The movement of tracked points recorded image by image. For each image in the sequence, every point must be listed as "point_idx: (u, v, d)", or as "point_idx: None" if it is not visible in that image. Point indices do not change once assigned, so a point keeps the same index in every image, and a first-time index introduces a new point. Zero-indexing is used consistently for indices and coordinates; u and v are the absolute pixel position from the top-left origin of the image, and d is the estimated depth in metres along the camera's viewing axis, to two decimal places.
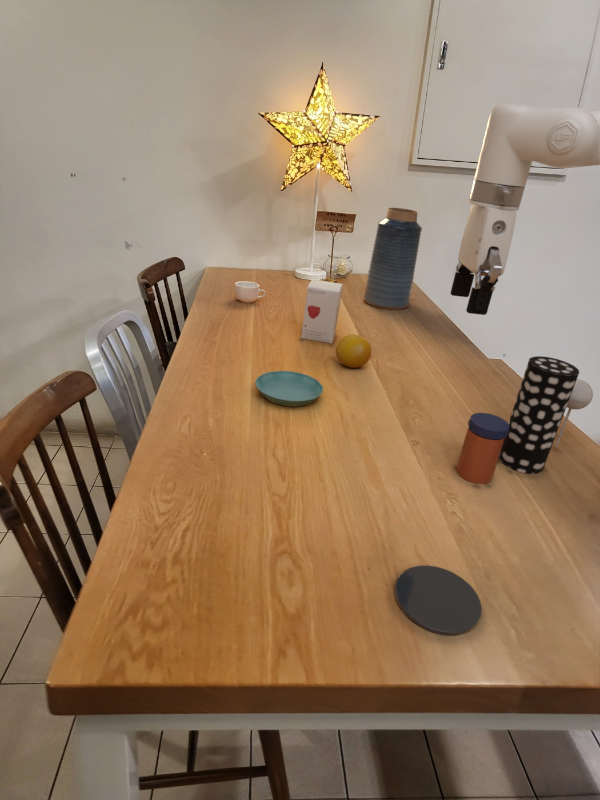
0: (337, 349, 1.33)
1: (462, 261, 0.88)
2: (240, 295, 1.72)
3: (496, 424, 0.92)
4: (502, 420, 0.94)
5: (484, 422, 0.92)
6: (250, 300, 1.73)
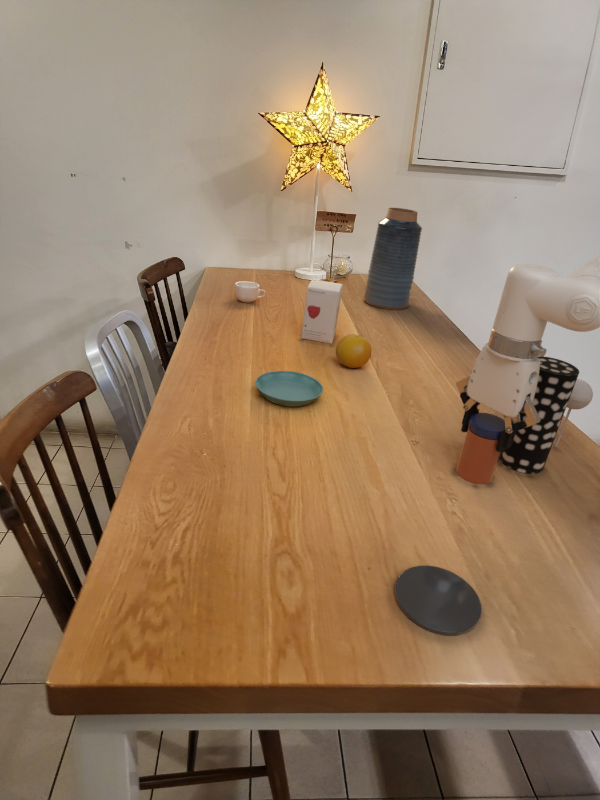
0: (337, 349, 1.33)
1: (480, 401, 0.91)
2: (240, 295, 1.72)
3: (496, 424, 0.92)
4: (502, 420, 0.94)
5: (484, 422, 0.92)
6: (250, 300, 1.73)
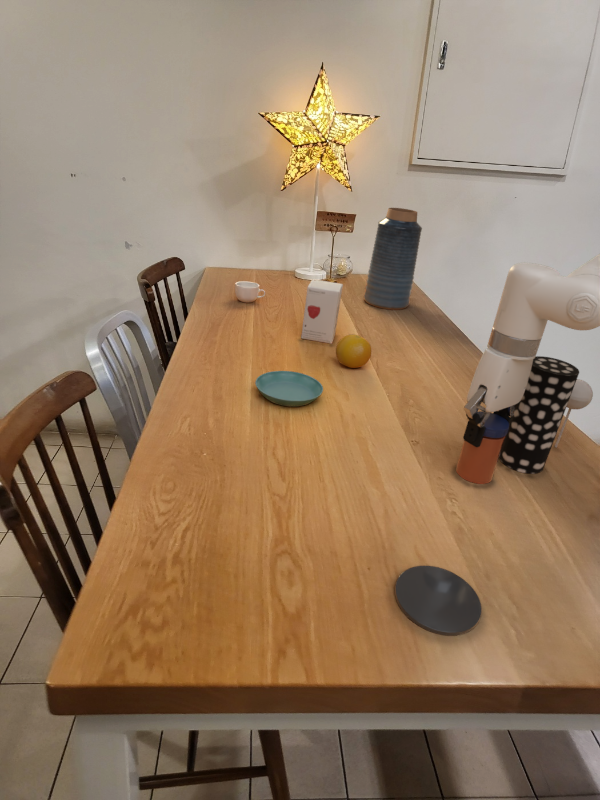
0: (337, 349, 1.33)
1: (500, 408, 0.89)
2: (240, 295, 1.72)
3: (492, 418, 0.93)
4: (479, 412, 0.95)
5: (494, 423, 0.92)
6: (250, 300, 1.73)
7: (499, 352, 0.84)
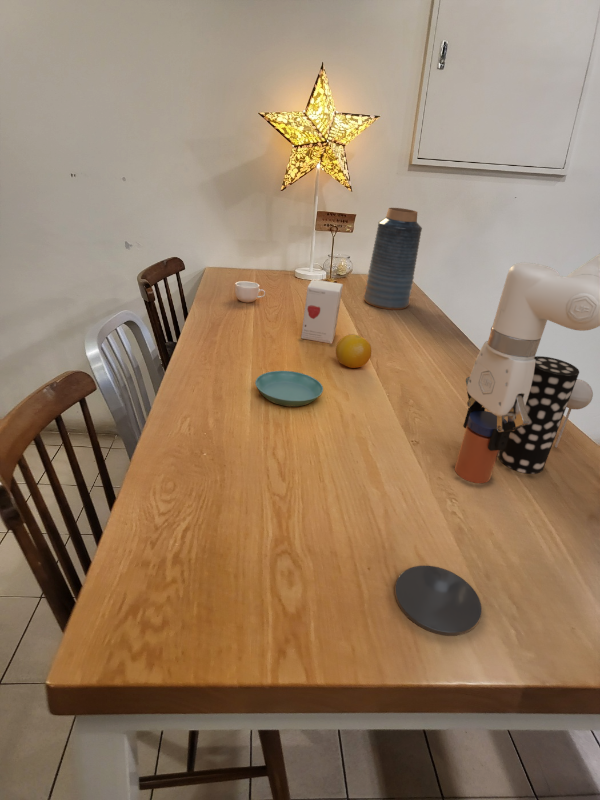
0: (337, 349, 1.33)
1: None
2: (240, 295, 1.72)
3: (483, 416, 0.94)
4: (473, 418, 0.93)
5: (495, 420, 0.93)
6: (250, 300, 1.73)
7: (526, 357, 0.84)
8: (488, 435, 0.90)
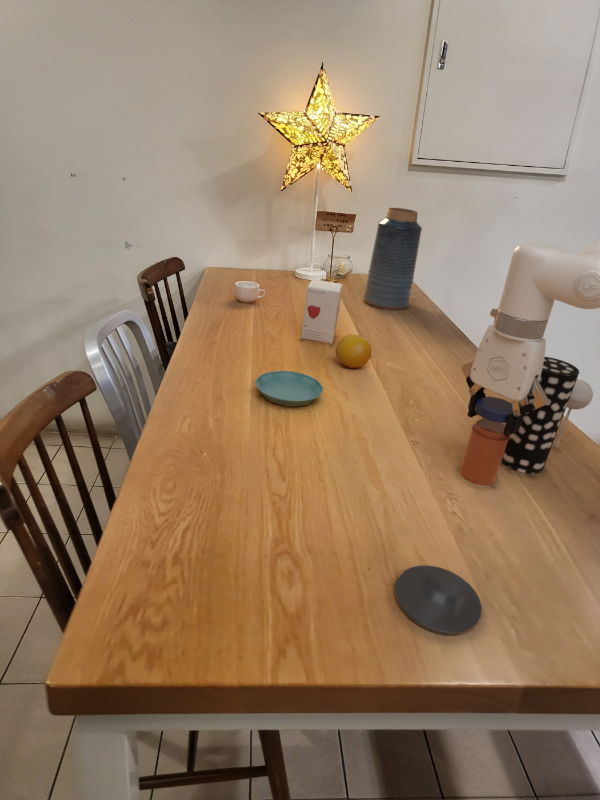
0: (337, 349, 1.33)
1: None
2: (240, 295, 1.72)
3: (489, 402, 0.92)
4: (483, 406, 0.90)
5: (502, 404, 0.91)
6: (250, 300, 1.73)
7: (539, 338, 0.83)
8: (503, 421, 0.89)
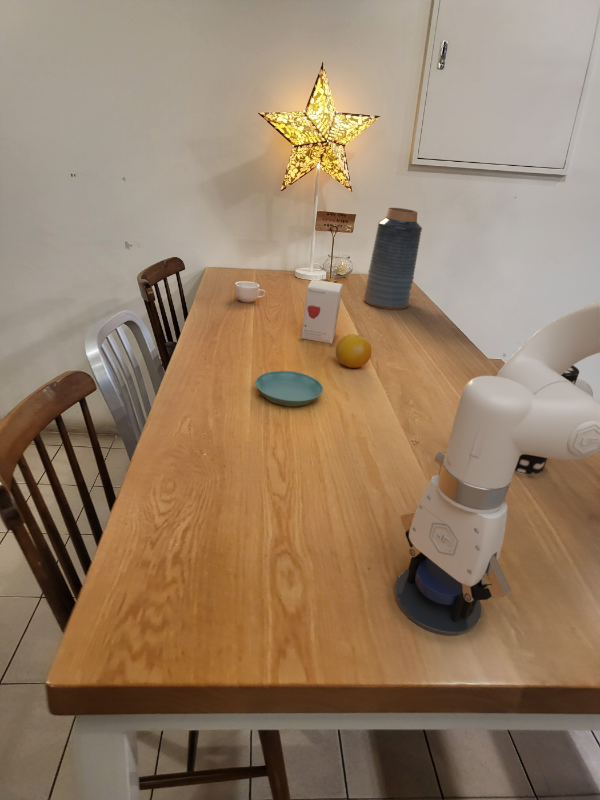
0: (337, 349, 1.33)
1: None
2: (240, 295, 1.72)
3: (435, 570, 0.68)
4: (425, 579, 0.67)
5: None
6: (250, 300, 1.73)
7: (498, 507, 0.59)
8: (451, 603, 0.65)
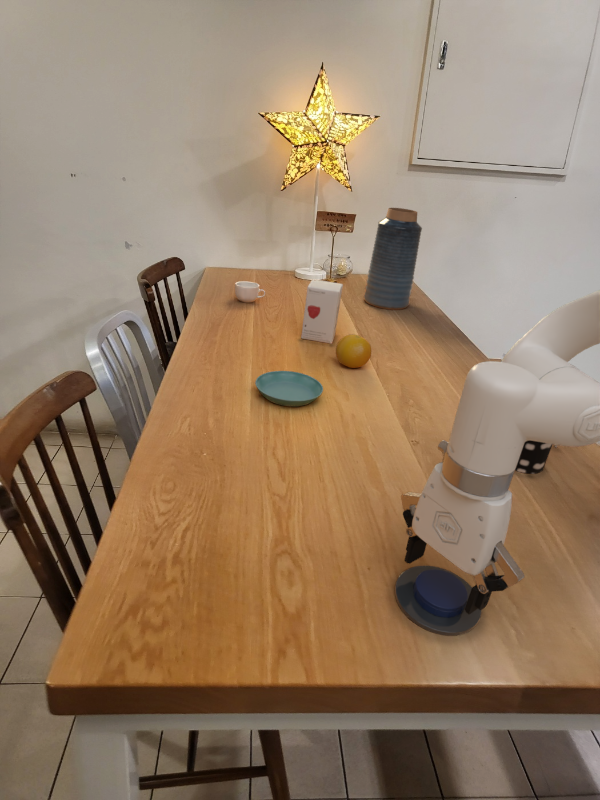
0: (337, 349, 1.33)
1: None
2: (240, 295, 1.72)
3: (433, 582, 0.69)
4: (423, 592, 0.68)
5: (448, 585, 0.69)
6: (250, 300, 1.73)
7: (502, 495, 0.59)
8: (448, 616, 0.66)
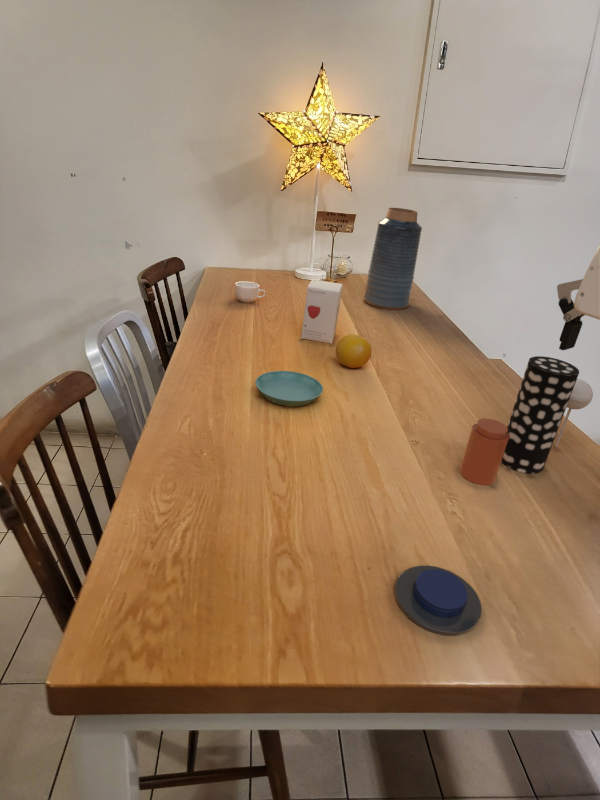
0: (337, 349, 1.33)
1: None
2: (240, 295, 1.72)
3: (433, 582, 0.69)
4: (423, 592, 0.68)
5: (448, 585, 0.69)
6: (250, 300, 1.73)
7: None
8: (448, 616, 0.66)
